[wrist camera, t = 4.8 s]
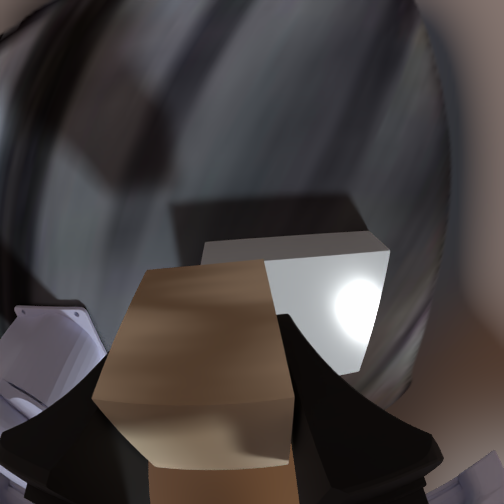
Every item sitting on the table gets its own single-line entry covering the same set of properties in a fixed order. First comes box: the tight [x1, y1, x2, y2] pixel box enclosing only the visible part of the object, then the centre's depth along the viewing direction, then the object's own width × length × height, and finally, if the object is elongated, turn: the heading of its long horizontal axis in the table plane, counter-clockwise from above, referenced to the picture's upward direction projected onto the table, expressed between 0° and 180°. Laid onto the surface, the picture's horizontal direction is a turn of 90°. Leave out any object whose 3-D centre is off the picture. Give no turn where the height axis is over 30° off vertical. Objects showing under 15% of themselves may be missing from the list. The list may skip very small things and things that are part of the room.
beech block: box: [92, 259, 295, 470], centre depth 9 cm, size 4×4×6 cm
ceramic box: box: [201, 231, 390, 375], centre depth 19 cm, size 11×11×4 cm
